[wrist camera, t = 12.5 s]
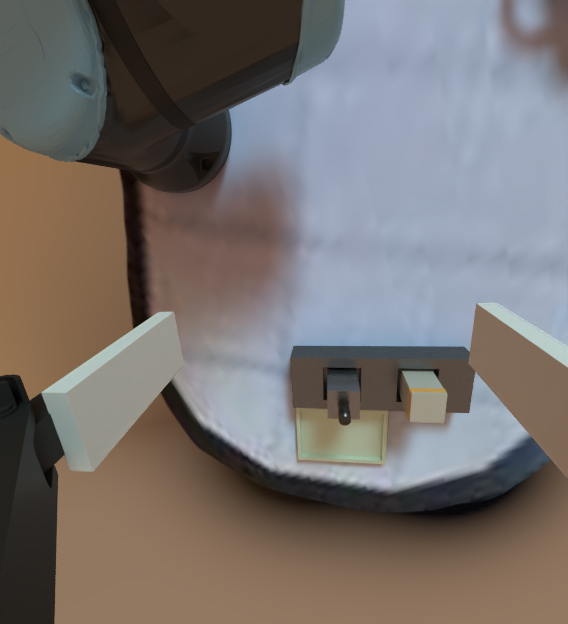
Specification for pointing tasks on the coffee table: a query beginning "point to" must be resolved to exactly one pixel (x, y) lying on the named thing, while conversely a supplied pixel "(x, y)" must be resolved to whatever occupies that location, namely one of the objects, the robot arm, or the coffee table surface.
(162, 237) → the coffee table surface
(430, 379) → the plug
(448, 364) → the panel
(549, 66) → the coffee table surface
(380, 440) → the tray
